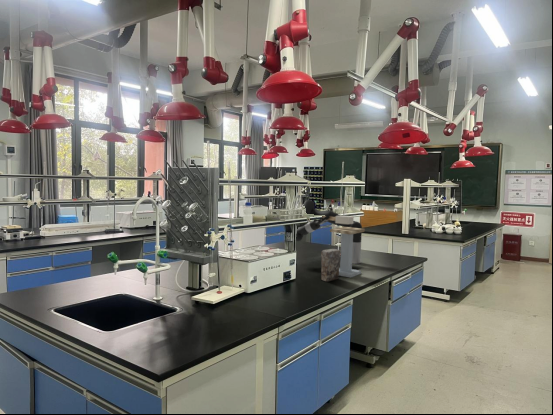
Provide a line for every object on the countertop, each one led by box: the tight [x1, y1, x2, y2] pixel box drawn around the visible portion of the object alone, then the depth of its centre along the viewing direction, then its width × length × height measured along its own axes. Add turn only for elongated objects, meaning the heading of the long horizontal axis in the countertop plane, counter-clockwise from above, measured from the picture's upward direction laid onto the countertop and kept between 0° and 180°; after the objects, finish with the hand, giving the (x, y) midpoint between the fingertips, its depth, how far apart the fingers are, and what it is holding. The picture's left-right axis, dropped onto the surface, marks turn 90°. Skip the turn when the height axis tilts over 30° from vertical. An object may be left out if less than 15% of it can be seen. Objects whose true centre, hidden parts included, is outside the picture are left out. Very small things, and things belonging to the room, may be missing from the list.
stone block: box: [320, 248, 341, 282], centre depth 254 cm, size 13×7×20 cm, turn 136°
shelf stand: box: [329, 226, 366, 279], centre depth 272 cm, size 16×22×32 cm
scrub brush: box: [322, 214, 355, 224], centre depth 276 cm, size 23×8×5 cm, turn 53°
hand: (330, 216), depth 279 cm, fingers closed on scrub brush, 2 cm apart
